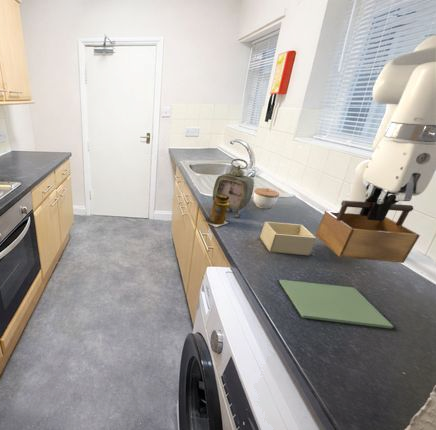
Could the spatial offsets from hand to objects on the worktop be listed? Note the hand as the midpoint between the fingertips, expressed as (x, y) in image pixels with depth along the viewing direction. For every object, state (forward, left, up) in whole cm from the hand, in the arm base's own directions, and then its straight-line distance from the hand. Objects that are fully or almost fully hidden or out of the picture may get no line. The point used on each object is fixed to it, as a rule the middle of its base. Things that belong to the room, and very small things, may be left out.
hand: (371, 217), depth 60 cm
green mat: (0, 0, -25) cm, 25 cm away
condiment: (+21, -45, -26) cm, 56 cm away
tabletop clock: (+13, -57, -26) cm, 64 cm away
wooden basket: (0, 0, -8) cm, 8 cm away
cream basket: (0, -29, -25) cm, 39 cm away
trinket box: (-6, -68, -26) cm, 73 cm away
